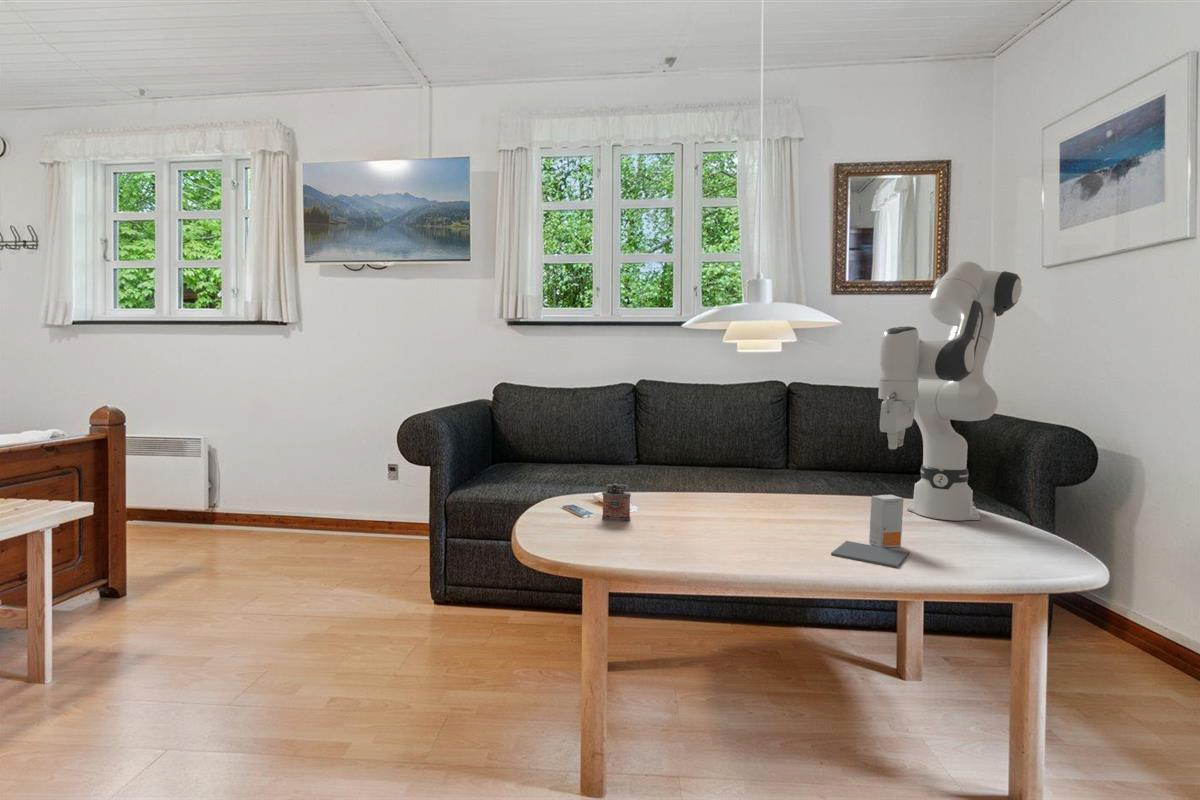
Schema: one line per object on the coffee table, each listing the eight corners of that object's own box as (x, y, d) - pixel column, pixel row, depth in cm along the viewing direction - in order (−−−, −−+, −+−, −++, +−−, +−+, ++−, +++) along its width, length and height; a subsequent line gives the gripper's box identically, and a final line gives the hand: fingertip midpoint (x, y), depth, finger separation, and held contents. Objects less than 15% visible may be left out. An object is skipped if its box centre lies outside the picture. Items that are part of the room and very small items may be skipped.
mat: (846, 542, 150) (846, 540, 150) (909, 554, 142) (909, 552, 141) (831, 554, 141) (831, 552, 141) (897, 567, 132) (897, 565, 132)
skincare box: (881, 548, 145) (882, 499, 145) (868, 543, 150) (870, 495, 149) (902, 547, 147) (904, 498, 146) (889, 541, 151) (891, 494, 150)
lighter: (600, 519, 170) (600, 484, 169) (604, 516, 173) (604, 482, 173) (628, 522, 168) (629, 486, 167) (631, 519, 171) (632, 483, 170)
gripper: (902, 394, 141) (900, 453, 142) (919, 391, 157) (917, 444, 158) (873, 393, 145) (871, 451, 146) (893, 390, 161) (891, 442, 162)
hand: (895, 447), depth 152 cm, fingers open, 5 cm apart
